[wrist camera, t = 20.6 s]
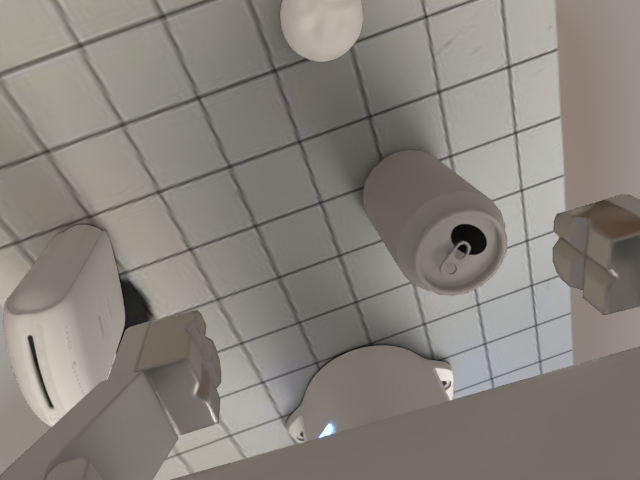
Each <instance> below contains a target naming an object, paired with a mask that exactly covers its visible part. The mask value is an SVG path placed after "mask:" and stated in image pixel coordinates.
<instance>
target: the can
mask: <svg viewBox="0 0 640 480" xmlns="http://www.w3.org/2000/svg"><path fill="white" fill-rule="evenodd" d="M363 206H364V210H365V212H366V214H367V216H368V218H369V220H370V221H371V223H372V225H373V226H374V228H375V229H376V231H377V233H378V234H379V236H380V237H381V239H382V241H383V242H384V244H385V246H386V247H387V249H388V250H389V252H390V254H391V255H392V257H393V258H394V260H395V262H396V263H397V265H398V266H399V268H400V270H401V271H402V273H403V275H404V276H405V277H406V278H407V279H408V280H409V281H411V282H412V283H413V284H414V285H415V286H418V287H420V288H423V289H425V290H428V291H432V292H435V293H437V294H439V295H451V296H454V295H459V294H463V293H468V292H470V291H472V290H474V289H476V288H478V287H480V286H482V285H483V284H484V283H485V282H486V281H488V280H489V279H490V278H491V277H492V276H493V275H494V274H495V272H496V271H497V270H498V268H499V267H500V266H501V264H502V262H503V259H504V257H505V254H506V251H507V236H506V232H505V224H504V221H503V217H502V214H501V211H500V210H499V209H498V208H497V206H496V205H495V204H494V203H493V202H492V200H491V199H489V198H488V197H487V196H485V195H484V194H483V193H481V192H480V191H479V190H477V189H476V188H475V187H473V186H472V185H471V184H469V183H468V182H467V181H465V180H464V179H463V178H461V177H460V176H459V175H457V174H456V173H455V172H454V171H452V170H451V169H450V168H448V167H447V166H446V165H444V164H443V163H442V162H440V161H439V160H438V159H436V158H435V157H433V156H431V155H429V154H427V153H426V152H423V151H416V150H407V151H401V152H396V153H394V154H392V155H390V156H389V157H387V158H385V159H383V160H382V161H381V162H380V163H379V164H378V165H377V166H376V167H375V168H374V169H373V170H372V172H371V173H370V175H369V177H368V178H367V180H366V182H365V186H364V191H363Z"/></svg>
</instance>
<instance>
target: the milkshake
mask: <svg viewBox="0 0 640 480" xmlns="http://www.w3.org/2000/svg"><path fill="white" fill-rule="evenodd" d="M280 20H281V27H282V31H283V34H284V37H285V39H286V41H287V42H288V44H289V45H290V47H291V48H292V49H293V50H294V51H295V52H296V53H297V54H299V55H301V56H302V57H304V58H307V59H309V60H312V61H316V62H325V61H330V60H334V59H336V58H338V57H340V56H342V55H343V54H345V53H346V52H347V51H348V50H349V49H350V48H351V47H352V46H353V45H354V43H355V42H356V40H357V39H358V37H359V35H360V32H361V29H362V24H363V10H362V3H361V0H282V4H281V10H280Z"/></svg>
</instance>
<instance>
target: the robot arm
mask: <svg viewBox="0 0 640 480" xmlns="http://www.w3.org/2000/svg"><path fill="white" fill-rule="evenodd" d="M553 231H554V232H555V233H556V234H557V236H558V237H559V239H558V241H557V242H556V244H555V245H554V247H553V263H554V266H555V269H556V272H557V273H558V275H559V276H560V278H561V279H562V280H563V281H564V282H565V283H566V284H567V285H569V286H570V287H574V288H578V289H581V290H583V298H584V299H585V300H586V301H588V302H589V303H590V304H591V305H592V306H594V307H595V308H596V309H597V310H598V311H600V312H601V313H602V314H603V315H607V314H611V313H615V312H619V311H623V310H627V309H631V308H635V307H639V306H640V199H637V198H635V197H633V196H631V195H624V194H621V195H618V196H614V197H611V198H608V199H605V200H602V201H599V202H596V203H592V204H589V205H585V206H582V207H579V208H575V209H572V210H569V211H565V212H562V213H558V214H557V215H556V217H555V220H554V229H553ZM205 334H206V323H205V321H204V319H203V317H202V315H201V313H200V312H199V311H198V310H195V311H191V312H187V313H183V314H178V315H174V316H170V317H166V318H162V319H158V320H154V321H152V322H150V321H149V322H146V323H142V324H139V325H135V326H132V327H129V328H128V329H126V331H125V333H124V336H123V338H122V341H121V344H120V347H119V350H118V352H117V355H116V358H115V361H114V363H113V366H112V369H111V372H110V375H109V377H108V380H105V381H101V382H100V383H99V384H97V385H96V386H95V387H94V388H93V389H92V390H91V391H90V392H89V393H88V394H87V395H86V396H85V397H83V398H82V399H81V400H80V401H79V402H78V403H77V404H76V405H75V406H74V407H73V408H72V409H71V410H69V411H68V412H67V413H66V414H65V415H64V416H63V417H62V418H61V419H60V420H59V421H58V422H57V423H55V424H54V425H53V426H52V427H51V428H50V429H49V430H48V431H47V432H46V433H45V434H44V435H43V436H42V437H40V438H39V439H38V440H37V441H36V442H35V443H34V444H33V445H32V446H31V447H30V448H29V449H28V450H26V451H25V452H24V454H22V455H21V456H20V457H19V458H18V459H17V460H16V461H15V462H14V463H13V464H11V465H10V466H9V467H8V468H7V469H6V470H5V471H4V472H3V473H2V474H1V475H0V480H153V478H154V476H155V475H156V473H157V472H158V470H159V469H160V467H161V465H162V464H163V462H164V461H165V459H166V457H167V456H168V454H169V453H170V451H171V449H172V448H173V446H174V445H175V443H176V442H177V440H178V436H179V435H183V434H186V433H189V432H192V431H196V430H199V429H202V428H205V427H208V426H212V425H215V424H218V423H219V411H220V397H219V394H218V392H217V390H216V388H217V387H218V386H219V384H220V383H221V367H220V360H219V356H218V353H217V349H216V347H215V345H214V342H213V340H211V339H209V338H207V337H206V336H205ZM453 388H454V373H453V370H452V368H451V366H450V364H448V363H446V362H443V361H436V360H427V359H424V358H422V357H420V356H419V355H417V354H415V353H413V352H411V351H409V350H407V349H404V348H401V347H396V346H388V345H376V346H368V347H363V348H359V349H355V350H352V351H350V352H347V353H345V354H343V355H341V356H339V357H337V358H335V359H334V360H332V361H331V362H329V363H328V364H327V365H325V366H324V367H323V368H322V369H321V370H320V371H319V372H318V373H317V374H316V375H315V376H314V378H313V379H312V381H311V382H310V384H309V386H308V387H307V390H306V392H305V395H304V398H303V401H302V403H301V405H300V406H299V407H298V408H297V409H296V410H295V411H294V412H293V414H292V415H291V416H290V417H289V419H288V420H287V428H288V432H289V434H290V435H291V436H292V437H293V438H294V439H295V440H296V441H297V442H298V444H295V445H291V446H288V447H284V448H281V449H277V450H274V451H270V452H267V453H263V454H260V455H256V456H253V457H249V458H246V459H242V460H239V461H235V462H232V463H228V464H225V465H221V466H218V467H214V468H210V469H207V470H203V471H200V472H196V473H193V474H189V475H186V476H182V477H179V478H175V479H172V480H640V347H636V348H633V349H629V350H626V351H622V352H619V353H615V354H611V355H608V356H605V357H601V358H598V359H594V360H590V361H587V362H583V363H580V364H576V365H573V366H569V367H566V368H562V369H559V370H555V371H552V372H548V373H545V374H541V375H537V376H534V377H530V378H527V379H524V380H520V381H517V382H513V383H510V384H506V385H503V386H499V387H496V388H492V389H489V390H485V391H482V392H478V393H475V394H471V395H468V396H464V397H461V398H457V399H454V400H453Z"/></svg>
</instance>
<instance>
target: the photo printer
mask: <svg viewBox="0 0 640 480" xmlns="http://www.w3.org/2000/svg"><path fill="white" fill-rule="evenodd" d="M124 324H125V309H124V302H123V296H122V290H121V285H120V280H119V276H118V271H117V267H116V262H115V258H114V254H113V250H112V247H111V243H110V240H109V238H108V235H107V233H106V232H105V231H101V230H100V229H99V228H97V227H94V226H90V225H76V226H73V227H70V228H69V229H67V230H66V231H65V232H64V233H59V234H57V235H56V236H55V238H54V239H53V240H52V241H51V243H50V244H49V246H48V247H47V248H46V249H45V251H44V252H43V253H42V255H41V256H40V257H39V259H38V260H37V261H36V263H35V264H34V265H33V266H32V268H31V269H30V270H29V271H28V273H27V274H26V275H25V277H24V278H23V279H22V281H21V282H20V283H19V284H18V286H17V287H16V288H15V290H14V291H13V292H12V293H11V295H10V296H9V297H8V299H7V300H6V302H5V304H4V315H3V326H4V333H5V340H6V344H7V349H8V354H9V358H10V362H11V367H12V369H13V371H14V376H15V378H16V379H17V382H18V385H19V387H20V389H21V391H22V393H23V395H24V397H25V399H26V401H27V403H28V404H29V406H30V407H31V409H32V410H33V411H34V413H35V414H36V415H37V416H38V417H39V418H40V419H41V420H42V421H43V422H45V423H46V424H47V425H49V426H51V427H52V426H53V425H54V424H55V423H57V422H58V421H59V420H60V419H61V418H62V417H63V416H64V415H65V414H66V413H67V412H68V411H69V410H71V409H72V408H73V407H74V406H75V405H76V404H77V403H78V402H79V401H80V400H81V399H82V398H83V397H85V396H86V395H87V394H88V393H89V392H90V391H91V390H92V389H93V388H94V387H95V386H96V385H97V384H99V383H100V382H101V381H105V380H106V379H107V376H108V373H109V370H110V367H111V364H112V361H113V358H114V355H115V353H116V350H117V347H118V344H119V341H120V338H121V335H122V332H123V329H124Z"/></svg>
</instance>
